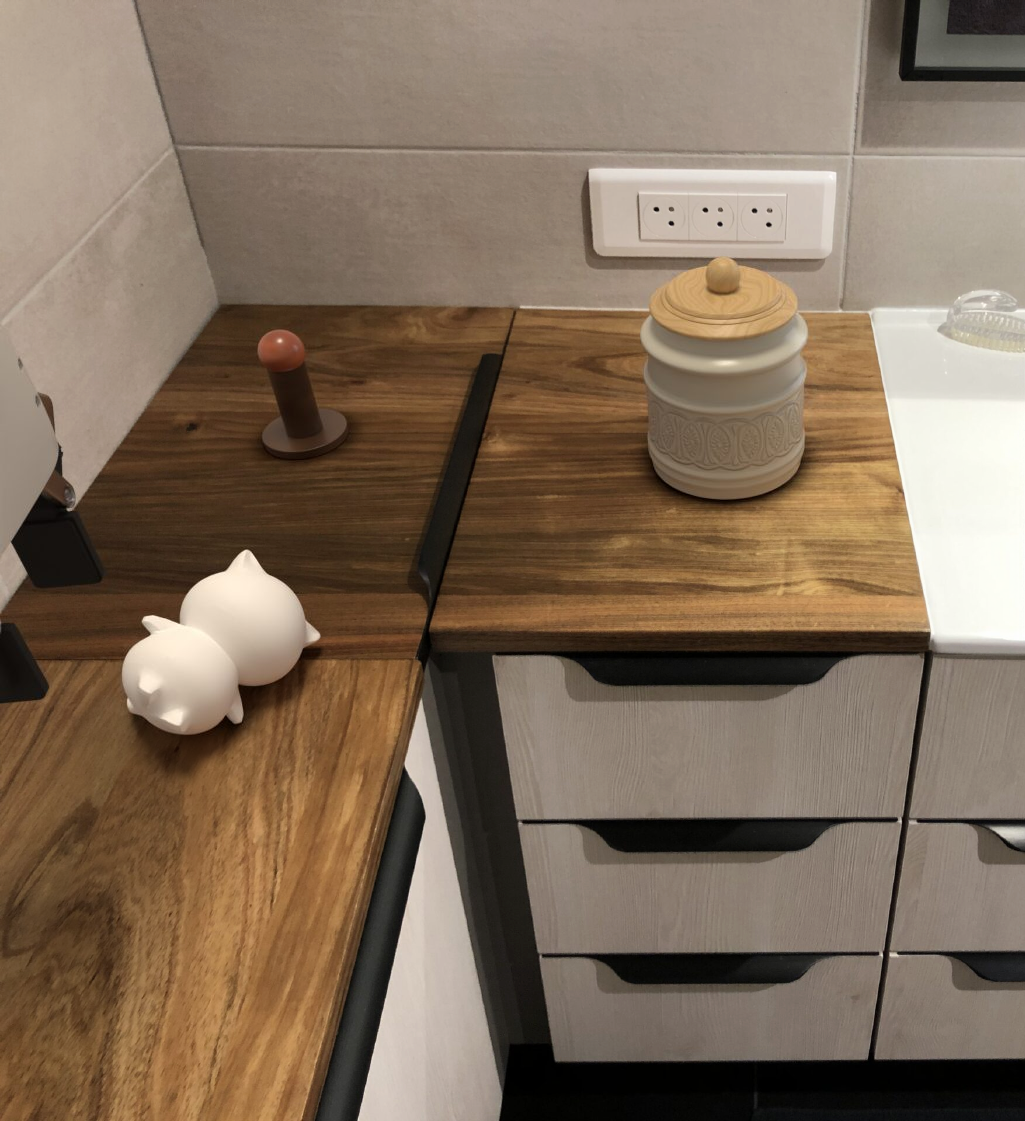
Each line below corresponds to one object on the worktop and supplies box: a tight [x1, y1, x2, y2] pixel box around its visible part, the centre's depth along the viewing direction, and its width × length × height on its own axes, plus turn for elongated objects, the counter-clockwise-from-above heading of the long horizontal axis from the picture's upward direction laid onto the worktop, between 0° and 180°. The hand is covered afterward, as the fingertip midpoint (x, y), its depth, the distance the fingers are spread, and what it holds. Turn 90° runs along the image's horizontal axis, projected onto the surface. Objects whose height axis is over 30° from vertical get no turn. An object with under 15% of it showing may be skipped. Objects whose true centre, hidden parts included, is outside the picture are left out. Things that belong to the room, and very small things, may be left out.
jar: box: [639, 256, 809, 500], centre depth 89 cm, size 13×13×18 cm
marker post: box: [257, 329, 350, 460], centre depth 94 cm, size 7×7×10 cm
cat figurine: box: [121, 549, 321, 736], centre depth 72 cm, size 9×11×12 cm
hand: (42, 634), depth 52 cm, fingers open, 7 cm apart
